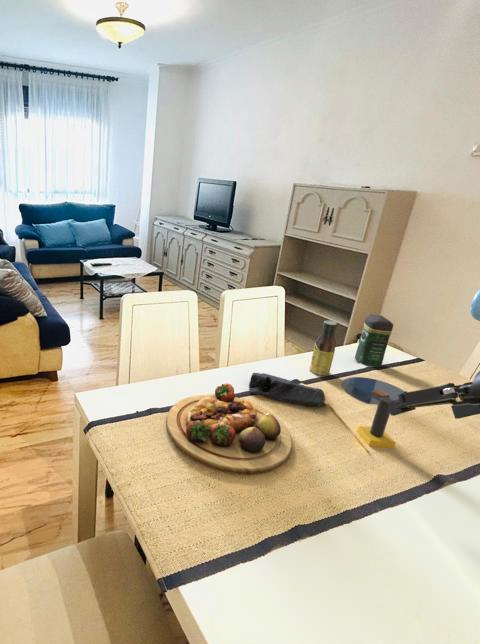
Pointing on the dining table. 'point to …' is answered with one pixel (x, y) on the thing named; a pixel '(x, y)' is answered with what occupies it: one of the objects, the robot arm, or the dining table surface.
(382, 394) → the crust
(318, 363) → the sauce bottle
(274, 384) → the dark folded cloth
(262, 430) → the wooden plate
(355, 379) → the plate
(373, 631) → the dining table surface
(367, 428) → the sponge wand
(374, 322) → the coffee jar
